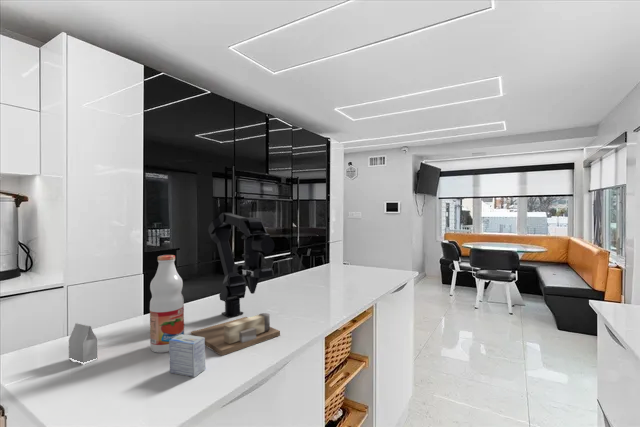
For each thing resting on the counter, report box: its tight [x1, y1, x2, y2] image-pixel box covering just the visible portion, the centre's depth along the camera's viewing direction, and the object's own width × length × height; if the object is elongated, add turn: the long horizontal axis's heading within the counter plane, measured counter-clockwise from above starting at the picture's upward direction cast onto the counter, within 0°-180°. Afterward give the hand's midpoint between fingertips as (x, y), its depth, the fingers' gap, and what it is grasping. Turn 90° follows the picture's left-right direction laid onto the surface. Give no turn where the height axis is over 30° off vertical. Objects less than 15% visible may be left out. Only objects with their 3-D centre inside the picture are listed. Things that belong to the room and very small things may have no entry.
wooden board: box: [190, 316, 281, 357], centre depth 107 cm, size 21×21×4 cm
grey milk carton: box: [68, 322, 98, 363], centre depth 90 cm, size 4×7×10 cm, turn 65°
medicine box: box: [168, 333, 206, 378], centre depth 83 cm, size 8×4×9 cm, turn 71°
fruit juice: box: [149, 254, 185, 354], centre depth 99 cm, size 9×9×28 cm
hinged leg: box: [224, 312, 271, 344], centre depth 103 cm, size 16×4×5 cm, turn 137°
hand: (252, 293), depth 119 cm, fingers closed
